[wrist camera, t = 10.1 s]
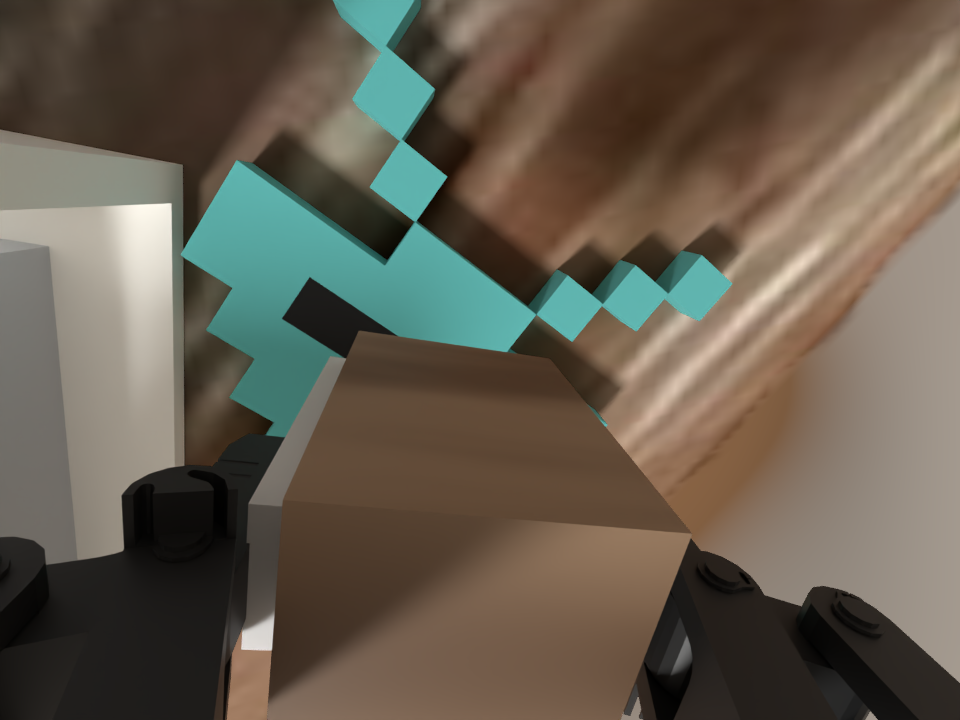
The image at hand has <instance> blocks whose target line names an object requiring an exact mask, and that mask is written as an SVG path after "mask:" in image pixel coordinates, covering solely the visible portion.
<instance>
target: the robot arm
mask: <svg viewBox="0 0 960 720" xmlns="http://www.w3.org/2000/svg"><path fill="white" fill-rule="evenodd" d="M345 360H346V358H339V357H332V356H330V358H329V359H328V361H327V363H326V365H325V367H324V368H323V370H322V372H321V374H320V376H319V377H318V379H317V381H316V383H315V385H314V386H313V388H312V390H311V392H310V394H309V395H308V397H307V399H306V401H305V403H304V404H303V406H302V408H301V410H300V412H299V413H298V415H297V417H296V419H295V421H294V422H293V424H292V426H291V428H290V430H289V431H288V433H287V435H286V437H278V436H268V435H259V434H247V435H246V436H244V437H242V438H240V439H238V440H237V441H235V442H233V443H231V444H230V445H229V446H228V447H227V448H226V450H225V451H224V452H223V454H222V455H221V456H220V457H219V459H218V462H216V463H215V464H214V465H213V467H211V466H198V465H187V466H179V467H170V468H166V469H163V470H160V471H157V472H153V473H150V474H148V475H146V476H144V477H142V478H141V479H139V480H137V481H135V482H133V483H132V484H131V485H130V486H129V487H128V488H127V489H126V490H125V492H124V493H123V494H122V495H121V499H122V520H123V540H124V549H123V551H121V552H118V553H115V554H111V555H106V556H101V557H96V558H90V559H83V560H76V561H69V562H62V563H55V564H48V565H46V557H45V549H44V548H43V547H41V546H40V545H39V544H38V543H36V542H35V541H34V540H30V539H25V538H20V537H14V536H13V537H0V720H226V719H227V709H228V699H229V690H230V680H231V662H232V652H233V649H234V647H235V644H236V642H237V639H238V637H239V635H240V632H241V630H242V627H243V630H242V650H272V642H273V628H274V614H275V600H276V586H277V572H278V558H279V544H280V530H281V516H282V503H283V498H284V496H285V494H286V492H287V489H288V487H289V485H290V483H291V480H292V478H293V476H294V474H295V471H296V469H297V467H298V465H299V463H300V460H301V458H302V456H303V454H304V451H305V449H306V447H307V445H308V443H309V440H310V438H311V436H312V434H313V431H314V429H315V427H316V425H317V423H318V420H319V418H320V416H321V414H322V411H323V409H324V407H325V405H326V403H327V400H328V398H329V396H330V394H331V391H332V389H333V387H334V385H335V383H336V380H337V378H338V376H339V374H340V371H341V369H342V367H343V365H344V363H345ZM637 697H639V699H640V704H641V712H640V715H639V718H640V719H643V720H865V719H866V717H867V716H868V714H869V712H870V711H871V712H872V713H873V714H874V716H876V718H877V719H878V720H960V683H959V682H958V681H957V680H956V679H955V678H954V677H952V676H951V675H950V674H949V673H948V672H947V671H946V670H945V669H944V668H943V667H941V666H940V665H939V664H938V663H937V662H936V661H935V660H934V659H933V658H931V657H930V656H929V655H928V654H927V653H926V652H925V651H924V650H923V649H922V648H920V647H919V646H918V645H917V644H916V643H915V642H914V641H913V640H912V639H910V637H908V636H907V635H906V634H905V633H904V632H903V631H902V630H901V629H900V628H899V627H897V626H896V625H895V624H894V623H893V622H892V621H891V620H890V619H888V618H887V617H886V616H884V615H883V614H882V613H881V612H879V611H878V610H877V609H875V608H874V607H873V606H871V605H869V604H867V603H866V602H864V601H863V600H862V599H861V598H859V597H857V596H855V595H853V594H848V592H845V591H842V590H839V589H834V588H830V587H825V586H820V587H813V588H812V589H811V591H810V592H809V593H808V595H807V597H806V599H805V601H804V603H803V605H802V607H801V606H798V605H795V604H791V603H788V602H785V601H781V600H778V599H775V598H772V597H768V596H765V595H764V594H763V592H762V591H761V589H760V587H759V586H758V585H757V583H756V582H755V581H754V580H753V579H752V578H751V576H750V575H749V574H747V573H746V572H745V571H744V570H742V569H741V568H740V567H739V566H737V565H736V564H734V563H732V562H730V561H729V560H727V559H725V558H723V557H721V556H718V555H715V554H712V553H710V552H706V551H700V549H699V548H698V547H697V546H696V544H695V543H694V542H693V540H692V539H691V538H690V541H689V544H688V546H687V549H686V551H685V554H684V556H683V559H682V562H681V564H680V567H679V569H678V572H677V575H676V577H675V580H674V582H673V585H672V587H671V590H670V593H669V595H668V598H667V600H666V603H665V606H664V608H663V611H662V613H661V616H660V618H659V621H658V624H657V626H656V629H655V631H654V634H653V637H652V639H651V642H650V644H649V647H648V649H647V652H646V655H645V657H644V660H643V662H642V665H641V668H640V670H639V673H638V675H637V678H636V680H635V683H634V686H633V688H632V691H631V693H630V696H629V698H628V701H627V704H626V706H625V709H624V714H625V715H629V716H630V715H631V712H632V709H633V707H634V704H635V702H636V699H637Z"/></svg>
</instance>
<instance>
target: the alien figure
mask: <svg viewBox="0 0 960 720" xmlns="http://www.w3.org/2000/svg"><path fill="white" fill-rule="evenodd" d="M333 1H334V3H335V6H336V8H337V10H338V12H339V15H340V17H341V18H342V19H344V20H345V21H346V22H347V23H348V24H349V25H350V26H352V27H353V28H354V29H355V30H356V31H357V32H359V33H360V34H361V35H362V36H363V37H364V38H365V39H367V40H368V41H369V42H370V43H371V44H372V45H373V46H375V47H376V48H377V49H378V50H379V51H380V52H381V54H380V56H379V57H378V59H377V61H376V62H375V64H374V65H373V67H372V68H371V70H370V72H369V73H368V75H367V76H366V78H365V80H364V81H363V83H362V84H361V86H360V87H359V89H358V91H357V92H356V94H355V95H354V97H353V101H354V102H355V104H356V105H357V107H358V108H360V109H361V110H362V111H363V112H365V113H366V114H367V115H368V116H369V117H371V118H372V119H373V120H374V121H376V122H377V123H378V124H379V125H381V126H382V127H383V128H384V129H385V130H387V131H388V132H389V133H390V134H392V135H393V136H394V137H395V138H396V139H398V140H399V141H400V142H399V144H398V145H397V147H396V148H395V150H394V151H393V153H392V154H391V156H390V157H389V159H388V160H387V162H386V163H385V165H384V166H383V168H382V169H381V171H380V172H379V174H378V175H377V177H376V178H375V180H374V181H373V183H372V184H371V186H370V188H371V189H372V190H374V191H375V192H376V193H378V194H379V195H380V196H382V197H383V198H384V199H386V200H387V201H388V202H389V203H391V204H392V205H393V206H395V207H396V208H397V209H399V210H400V211H401V212H403V213H404V214H405V215H406V216H408V217H409V218H410V219H412V220H413V221H414V223H413V224H412V226H411V227H410V229H409V230H408V232H407V233H406V234H405V236H404V237H403V239H402V240H401V242H400V243H399V244H398V246H397V247H396V249H395V250H394V252H393V253H392V254H391V256H390V257H389V259H388V260H386V259H385V258H384V257H382V256H381V255H379V254H378V253H377V252H375V251H374V250H372V249H371V248H370V247H368V246H367V245H366V244H364V243H363V242H361V241H360V240H359V239H357V238H356V237H354V236H353V235H352V234H350V233H349V232H347V231H346V230H345V229H343V228H342V227H340V226H339V225H338V224H336V223H335V222H334V221H332V220H331V219H329V218H328V217H327V216H325V215H324V214H322V213H321V212H320V211H318V210H317V209H315V208H314V207H313V206H311V205H310V204H309V203H307V202H306V201H304V200H303V199H302V198H300V197H299V196H297V195H296V194H295V193H293V192H292V191H290V190H289V189H288V188H286V187H285V186H284V185H282V184H281V183H279V182H278V181H277V180H275V179H274V178H272V177H271V176H270V175H268V174H267V173H265V172H264V171H263V170H261V169H260V168H259V167H257V166H256V165H254V164H253V163H250V162H244V161H239V160H237V161H236V162H235V164H234V166H233V167H232V169H231V171H230V172H229V174H228V176H227V178H226V179H225V181H224V183H223V184H222V186H221V188H220V189H219V191H218V193H217V194H216V196H215V198H214V199H213V201H212V203H211V204H210V206H209V208H208V209H207V211H206V213H205V214H204V216H203V218H202V220H201V221H200V223H199V225H198V226H197V228H196V230H195V231H194V233H193V235H192V236H191V238H190V240H189V241H188V243H187V245H186V246H185V248H184V250H183V251H182V253H181V256H182V257H184V258H185V259H187V260H189V261H190V262H192V263H193V264H195V265H197V266H198V267H200V268H201V269H203V270H205V271H206V272H208V273H209V274H211V275H213V276H214V277H216V278H217V279H219V280H221V281H222V282H224V283H225V284H227V285H228V286H230V287H232V290H231V291H230V293H229V295H228V296H227V298H226V299H225V301H224V303H223V304H222V306H221V307H220V309H219V310H218V312H217V314H216V315H215V317H214V318H213V320H212V322H211V323H210V325H209V326H208V328H207V329H206V331H208V332H210V333H211V334H213V335H215V336H217V337H218V338H220V339H222V340H223V341H225V342H227V343H228V344H230V345H232V346H234V347H235V348H237V349H239V350H240V351H242V352H244V353H245V354H247V355H249V356H251V357H252V358H254V361H253V362H252V364H251V365H250V367H249V368H248V370H247V371H246V373H245V374H244V376H243V377H242V379H241V380H240V382H239V383H238V385H237V386H236V388H235V389H234V391H233V392H232V394H231V395H230V397H229V398H231V399H233V400H234V401H236V402H238V403H240V404H242V405H243V406H245V407H247V408H249V409H251V410H252V411H254V412H256V413H258V414H260V415H262V416H263V417H265V418H267V419H269V420H271V421H272V422H274V423H273V424H272V426H271V427H270V428H269V430H268V431H267V433H266V434H265V435H268V436H278V437H286V435H287V433H288V431H289V430H290V428H291V426H292V424H293V422H294V421H295V419H296V417H297V415H298V413H299V412H300V410H301V408H302V406H303V404H304V403H305V401H306V399H307V397H308V395H309V394H310V392H311V390H312V388H313V386H314V385H315V383H316V381H317V379H318V377H319V376H320V374H321V372H322V370H323V368H324V367H325V365H326V363H327V361H328V359H329V358H330V356H332V357H339V358H347V356H348V354H349V351H350V349H351V347H352V345H353V343H354V340H355V338H356V336H357V334H358V331H365V332H372V333H379V334H386V335H393V336H400V337H406V338H413V339H420V340H427V341H434V342H441V343H448V344H454V345H461V346H468V347H475V348H482V349H489V350H496V351H502V352H509V353H516V352H514V351H513V350H511V349H510V347H511V346H512V345H513V343H514V342H515V341H516V340H517V338H518V337H519V336H520V335H521V333H522V332H523V331H524V330H525V328H526V327H527V326H528V325H529V323H530V322H531V321H532V320H533V318H534V317H535V316H536V315H537V316H539V317H540V318H541V319H543V320H544V321H545V322H547V323H548V324H549V325H551V326H552V327H553V328H554V329H556V330H557V331H558V332H560V333H561V334H562V335H564V336H565V337H566V338H568V339H569V340H570V341H571V342H572V341H573V340H574V339H575V338H576V336H577V335H578V334H579V333H580V332H581V330H582V329H583V328H584V327H585V326H586V324H587V323H588V322H589V321H590V320H591V318H592V317H593V316H594V315H595V313H596V312H597V311H598V310H599V309H600V307H601V306H602V307H604V308H605V309H606V310H607V311H609V312H610V313H611V314H612V315H614V316H615V317H616V318H617V319H618V320H620V321H621V322H622V323H624V324H625V325H627V326H629V327H630V328H632V329H633V330H635V331H637V330H638V329H639V328H640V327H641V325H642V324H643V323H644V322H645V321H646V320H647V318H648V317H649V316H650V315H651V314H652V313H653V311H654V310H655V309H656V308H657V307H658V306H659V304H660V303H661V302H662V301H663V300H664V299H665V300H667V301H668V302H669V303H670V304H671V305H672V306H673V307H675V308H676V309H677V310H678V311H679V312H680V313H683V314H685V315H687V316H689V317H691V318H694V319H696V320H698V321H700V320H701V319H702V318H703V317H704V315H705V314H706V313H707V312H708V311H709V310H710V309H711V308H712V306H713V305H714V304H715V303H716V302H717V301H718V300H719V299H720V297H721V296H722V295H723V294H724V293H725V292H726V291H727V290H728V288H729V287H730V286H731V285H732V283H731V282H730V281H729V280H728V279H727V278H726V277H725V276H724V275H722V274H721V273H720V272H719V271H718V270H717V269H716V268H715V267H714V266H713V265H712V264H711V263H710V262H709V261H708V260H707V259H706V258H704V257H703V256H702V255H699V254H695V253H690V252H686V251H681V252H680V253H679V254H678V255H677V257H676V258H675V259H674V260H673V261H672V263H671V264H670V265H669V266H668V267H667V269H666V270H665V271H664V272H663V273H662V274H661V276H660V277H659V278H658V279H657V280H656V282H654V281H653V280H652V279H651V278H650V277H649V276H647V275H646V274H645V273H644V272H643V271H642V270H641V269H639V268H638V267H637V266H636V265H634V264H631V263H628V262H625V261H622V260H619V262H618V263H617V264H616V265H615V267H614V268H613V269H612V270H611V271H610V273H609V274H608V275H607V276H606V278H605V279H604V280H603V281H602V282H601V284H600V285H599V286H598V287H597V289H596V290H595V291H594V292H593V293H592V295H591V294H590V293H589V292H588V291H586V290H585V289H584V288H583V287H581V286H580V285H579V284H578V283H577V282H575V281H574V280H573V279H572V278H570V277H569V276H568V275H566V274H564V273H563V272H561V271H559V270H556V271H555V272H554V274H553V275H552V276H551V278H550V279H549V280H548V281H547V283H546V284H545V285H544V286H543V288H542V289H541V290H540V291H539V293H538V294H537V295H536V297H535V298H534V299H533V300H532V302H531V303H530V304H529V305H528V306H527V305H526V304H525V303H523V302H522V301H521V300H519V299H518V298H517V297H516V296H514V295H513V294H512V293H510V292H509V291H508V290H506V289H505V288H504V287H502V286H501V285H500V284H499V283H497V282H496V281H495V280H493V279H492V278H491V277H489V276H488V275H487V274H486V273H484V272H483V271H482V270H480V269H479V268H478V267H476V266H475V265H474V264H472V263H471V262H470V261H469V260H467V259H466V258H465V257H463V256H462V255H461V254H459V253H458V252H457V251H455V250H454V249H453V248H452V247H450V246H449V245H448V244H446V243H445V242H444V241H442V240H441V239H440V238H438V237H437V236H436V235H435V234H433V233H432V232H431V231H429V230H428V229H427V228H425V227H424V226H423V225H421V224H420V223H419V222H418V221H417V219H418V218H419V217H420V215H421V214H422V212H423V211H424V209H425V208H426V207H427V205H428V204H429V202H430V201H431V199H432V198H433V197H434V195H435V194H436V192H437V191H438V190H439V188H440V187H441V185H442V184H443V182H444V181H445V180H446V178H447V176H446V175H445V174H443V173H442V172H441V171H440V170H438V169H437V168H436V167H435V166H434V165H432V164H431V163H430V162H429V161H427V160H426V159H425V158H424V157H423V156H421V155H420V154H419V153H418V152H416V151H415V150H414V149H413V148H412V147H410V146H409V145H408V144H407V143H405V142H404V141H405V140H406V138H407V137H408V135H409V134H410V132H411V131H412V129H413V128H414V126H415V125H416V123H417V122H418V120H419V119H420V117H421V116H422V114H423V113H424V111H425V110H426V108H427V107H428V105H429V104H430V102H431V101H432V99H433V98H434V92H435V89H434V88H433V87H432V86H431V85H430V84H429V83H428V82H426V81H425V80H424V79H423V78H422V77H421V76H420V75H418V74H417V73H416V72H415V71H414V70H413V69H412V68H410V67H409V66H408V65H407V64H406V63H405V62H404V61H402V60H401V59H400V58H399V57H398V56H397V55H396V54H395V53H393V51H394V49H395V48H396V46H397V45H398V43H399V42H400V40H401V38H402V37H403V35H404V34H405V32H406V31H407V29H408V27H409V26H410V24H411V23H412V21H413V20H414V18H415V16H416V15H417V13H418V12H419V10H420V9H421V0H333ZM516 354H517V353H516ZM587 405H588V404H587ZM588 406H589V405H588ZM589 407H590V408H591V410H592V411H593V412H594V413H595V415H596V416H597V417H598V418H599V420H600V421H601V422H602V423H603V424H604V426H605V427H606V426H607V424H606V422H605V421H604V420H603V419H602V417H601V416H600V415H599V414H598V413H597V411H596V410H595V409H593V408H592V407H591V406H589Z"/></svg>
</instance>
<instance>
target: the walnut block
mask: <svg viewBox="0 0 960 720" xmlns="http://www.w3.org/2000/svg"><path fill="white" fill-rule="evenodd" d="M691 536H692V533H691V532H690V530H689V529H688V528H687V527H686V526H685V524H684V523H683V522H682V521H681V519H680V518H679V517H678V516H677V514H676V513H675V512H674V511H673V510H672V508H671V507H670V506H669V505H668V503H667V502H666V501H665V500H664V498H663V497H662V496H661V495H660V493H659V492H658V491H657V490H656V489H655V487H654V486H653V485H652V484H651V482H650V481H649V480H648V479H647V477H646V476H645V475H644V474H643V473H642V471H641V470H640V469H639V468H638V466H637V465H636V464H635V463H634V461H633V460H632V459H631V458H630V457H629V455H628V454H627V453H626V452H625V450H624V449H623V448H622V447H621V445H620V444H619V443H618V442H617V441H616V439H615V438H614V437H613V436H612V434H611V433H610V432H609V431H608V429H607V428H606V427H605V426H604V424H603V423H602V422H601V421H600V420H599V418H598V417H597V416H596V415H595V413H594V412H593V411H592V410H591V408H590V407H589V406H588V405H587V404H586V402H585V401H584V400H583V399H582V397H581V396H580V395H579V394H578V392H577V391H576V390H575V389H574V388H573V386H572V385H571V384H570V383H569V381H568V380H567V379H566V378H565V376H564V375H563V374H562V373H561V372H560V370H559V369H558V368H557V367H556V365H555V364H554V363H553V362H552V360H551V359H550V358H543V357H537V356H530V355H523V354H516V353H509V352H502V351H496V350H489V349H482V348H475V347H468V346H461V345H454V344H448V343H441V342H434V341H427V340H420V339H413V338H406V337H400V336H393V335H386V334H379V333H372V332H365V331H358V334H357V336H356V338H355V340H354V343H353V345H352V347H351V349H350V351H349V354H348V356H347V358H346V360H345V363H344V365H343V367H342V369H341V371H340V374H339V376H338V378H337V380H336V383H335V385H334V387H333V389H332V391H331V394H330V396H329V398H328V400H327V403H326V405H325V407H324V409H323V411H322V414H321V416H320V418H319V420H318V423H317V425H316V427H315V429H314V431H313V434H312V436H311V438H310V440H309V443H308V445H307V447H306V449H305V451H304V454H303V456H302V458H301V460H300V463H299V465H298V467H297V469H296V471H295V474H294V476H293V478H292V480H291V483H290V485H289V487H288V489H287V492H286V494H285V496H284V498H283V503H282V516H281V530H280V544H279V558H278V572H277V586H276V600H275V614H274V628H273V642H272V655H271V669H270V683H269V697H268V711H267V720H620V719H621V717H622V714H623V711H624V709H625V706H626V704H627V701H628V698H629V696H630V693H631V691H632V688H633V686H634V683H635V680H636V678H637V675H638V673H639V670H640V668H641V665H642V662H643V660H644V657H645V655H646V652H647V649H648V647H649V644H650V642H651V639H652V637H653V634H654V631H655V629H656V626H657V624H658V621H659V618H660V616H661V613H662V611H663V608H664V606H665V603H666V600H667V598H668V595H669V593H670V590H671V587H672V585H673V582H674V580H675V577H676V575H677V572H678V569H679V567H680V564H681V562H682V559H683V556H684V554H685V551H686V549H687V546H688V544H689V541H690V538H691Z"/></svg>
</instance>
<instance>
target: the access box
mask: <svg viewBox="0 0 960 720" xmlns="http://www.w3.org/2000/svg"><path fill="white" fill-rule="evenodd" d="M182 251H183V165H181V164H176V163H171V162H166V161H160V160H155V159H150V158H145V157H140V156H135V155H129V154H124V153H119V152H114V151H109V150H104V149H98V148H93V147H88V146H83V145H78V144H73V143H67V142H62V141H57V140H52V139H47V138H42V137H36V136H31V135H26V134H21V133H16V132H11V131H5V130H0V537H13V536H14V537H20V538H25V539H30V540H34V541H35V542H36V543H38V544H39V545H40V546H41V547H43V548H44V549H45V557H46V565H48V564H55V563H62V562H69V561H76V560H83V559H90V558H96V557H101V556H106V555H111V554H115V553H118V552H121V551H123V549H124V540H123V520H122V499H121V495H122V494H123V493H124V492H125V490H126V489H127V488H128V487H129V486H130V485H131V484H132V483H133V482H135V481H137V480H139V479H141V478H142V477H144V476H146V475H148V474H150V473H153V472H157V471H160V470H163V469H166V468H170V467H179V466H184V282H183V257H182V256H181V253H182Z"/></svg>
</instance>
